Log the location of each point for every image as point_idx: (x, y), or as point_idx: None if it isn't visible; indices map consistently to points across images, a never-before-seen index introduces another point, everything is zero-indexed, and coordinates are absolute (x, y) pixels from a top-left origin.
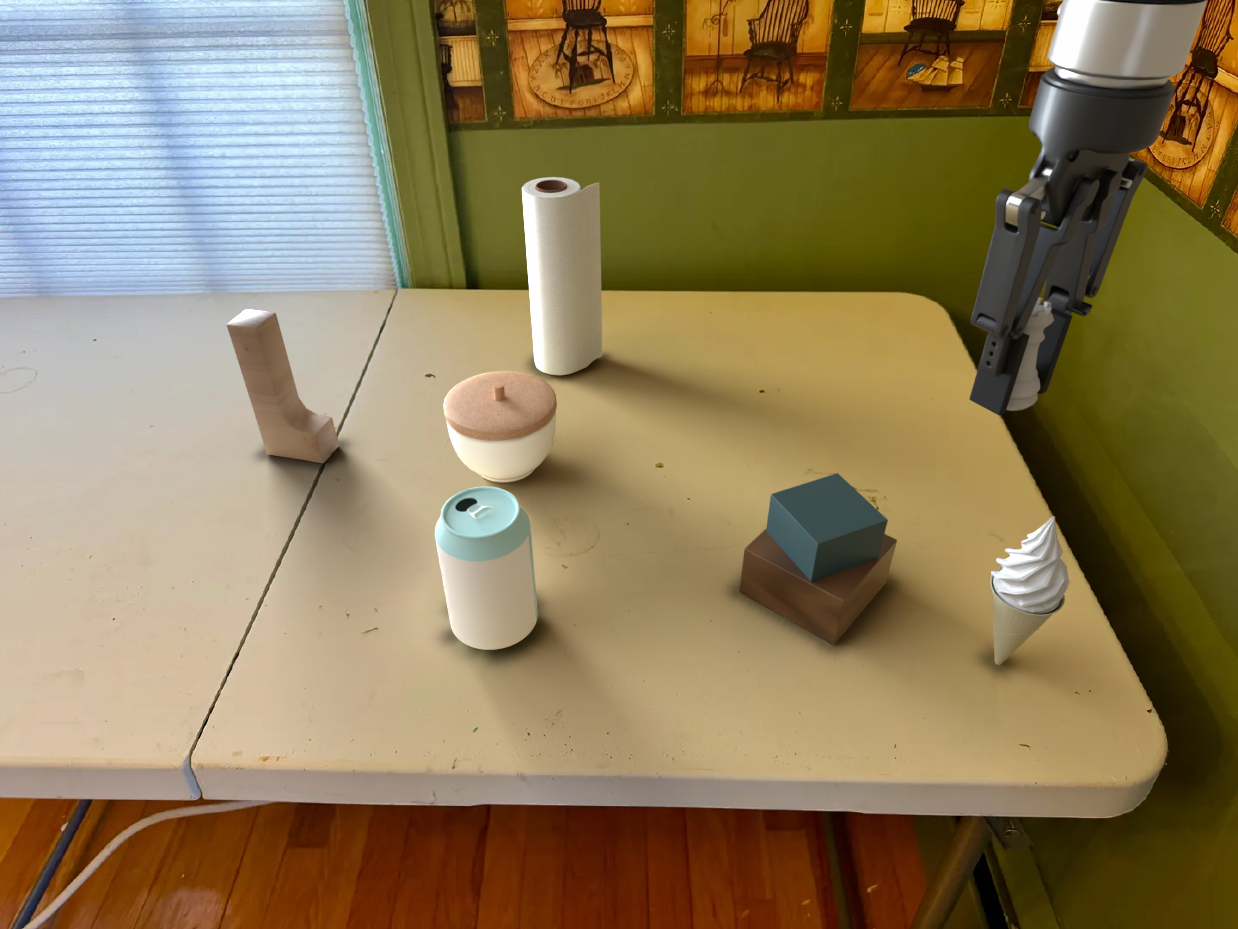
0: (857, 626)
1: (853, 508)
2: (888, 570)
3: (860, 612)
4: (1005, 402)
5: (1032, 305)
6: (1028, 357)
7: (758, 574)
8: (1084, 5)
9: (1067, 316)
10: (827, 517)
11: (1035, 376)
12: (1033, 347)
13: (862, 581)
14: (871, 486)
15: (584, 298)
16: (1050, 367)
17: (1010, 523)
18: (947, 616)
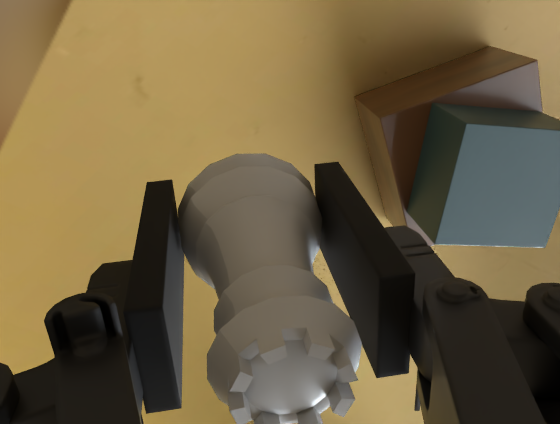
0: (442, 55)
1: (484, 169)
2: (367, 101)
3: (426, 70)
4: (336, 175)
5: (460, 361)
6: (285, 244)
7: None
8: None
9: (143, 317)
10: (530, 171)
11: (237, 202)
12: (282, 261)
13: (481, 78)
14: None
15: None
16: (167, 214)
17: (95, 99)
18: (333, 4)
